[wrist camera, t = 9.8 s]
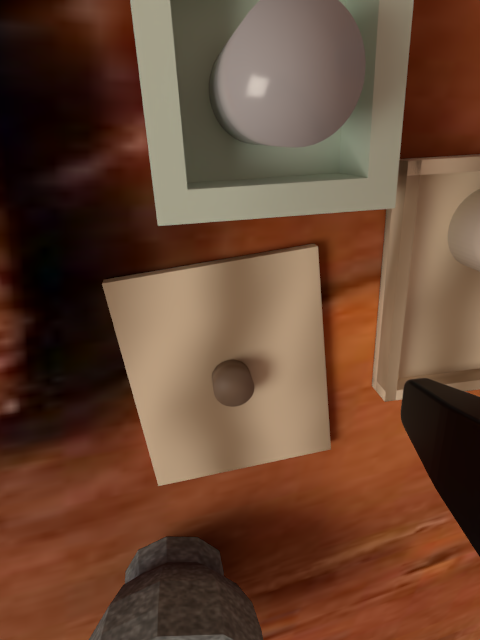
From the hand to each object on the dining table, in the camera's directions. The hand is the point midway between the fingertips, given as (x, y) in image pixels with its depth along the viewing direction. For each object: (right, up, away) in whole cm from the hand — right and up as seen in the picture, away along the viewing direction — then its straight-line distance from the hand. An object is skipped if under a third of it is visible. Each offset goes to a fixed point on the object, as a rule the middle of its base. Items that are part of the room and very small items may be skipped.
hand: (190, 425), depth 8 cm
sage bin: (+2, +12, +9) cm, 15 cm away
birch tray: (+13, +4, +14) cm, 20 cm away
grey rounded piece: (+2, +11, +9) cm, 14 cm away
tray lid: (0, -1, +14) cm, 14 cm away
